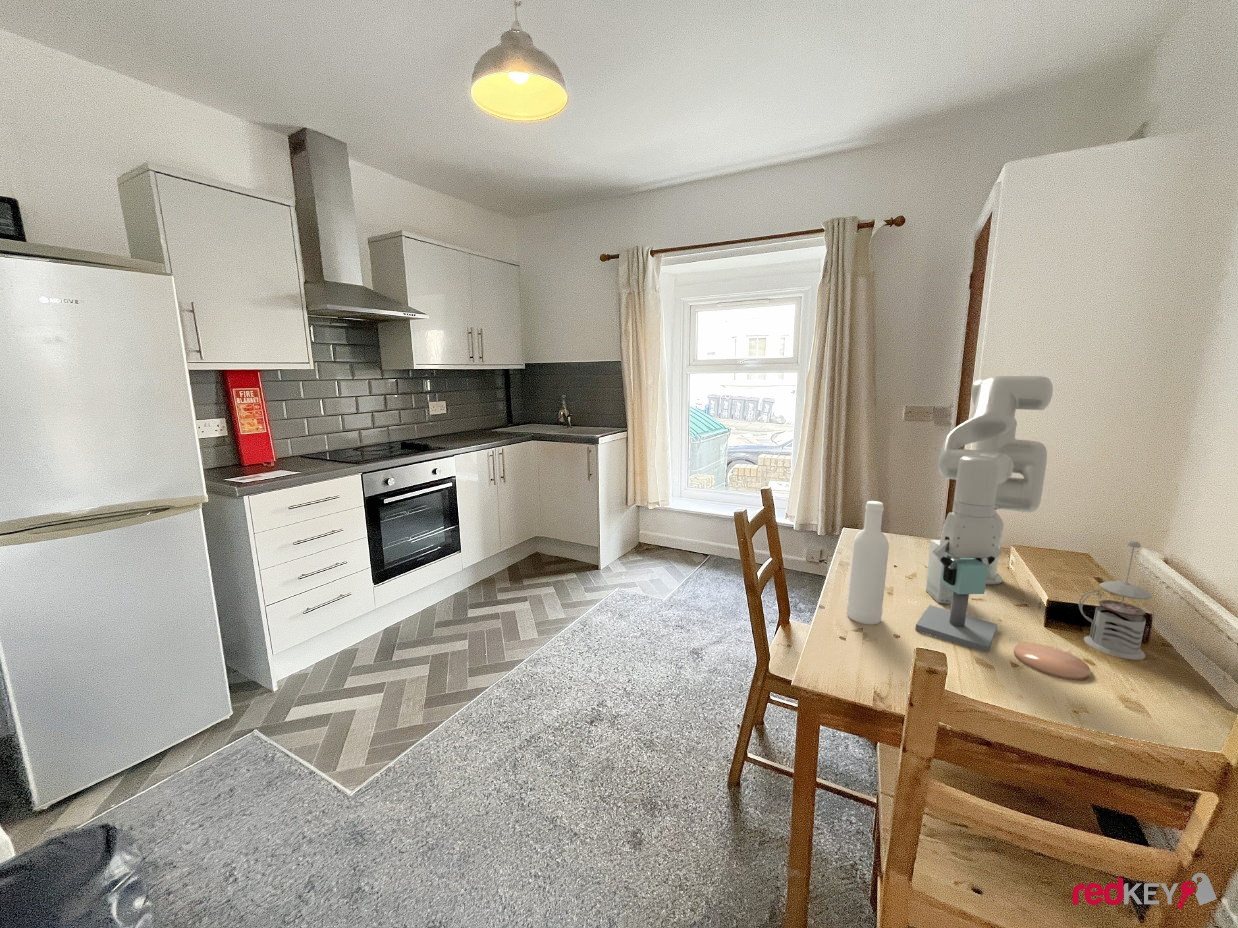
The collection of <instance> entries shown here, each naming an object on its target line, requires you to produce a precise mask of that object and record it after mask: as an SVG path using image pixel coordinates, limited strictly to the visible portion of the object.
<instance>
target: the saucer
mask: <svg viewBox="0 0 1238 928" xmlns="http://www.w3.org/2000/svg"><path fill="white" fill-rule="evenodd" d="M1013 655H1014V656H1015V658H1016V659H1017V660H1018V661H1020V662H1021V663H1022V664H1024V665H1025V666H1026V667H1028V668H1031V669H1033V670H1035V671H1036V672H1039V673H1042V674H1045V675H1048V676H1051V677H1054V678H1057V679H1063V680H1068V681H1084V680H1087V679H1088V678H1089V677H1090V675H1091V667H1090V666H1089V665H1088V664H1087V662H1085V661H1084V660H1082V659H1081V658H1079V657H1078V656H1075V655H1073V654H1071V653H1069V652H1067V651H1065V650H1062V649H1059V648H1057V647H1053V646H1049V645H1045V644H1041V643H1033V642H1022V643H1018V644H1016V645H1015V646H1014V649H1013Z"/></svg>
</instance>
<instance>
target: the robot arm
mask: <svg viewBox="0 0 1238 928" xmlns="http://www.w3.org/2000/svg"><path fill="white" fill-rule="evenodd" d="M970 389H971V390H970V391H971V393H970V395H971V400H972V403H973V406H974V407H973V411H972V415H971V418H970V419H967V420H965V421H964V422H963V423H962V422H961V423H960V424H959V425H957V426H956V427H955V428H954V429H952V430H951V431H950V432H949V433H948V434H947V436H946V437H945V439H944V441H943V444H942V448H941V451H940V453H939V458H938V462H937V468H938V469H937V470H938V472H939V474H940V476H942V477H943V478H946V479H949V480H956V481H955V482H956V483H955V487H954V488H955V489H954V497H953V502H952V503H953V504H952V512H950V511H949V512H948V514H947V516H946V519H945V521H944V523H943V527H942V530H941V534H940V539H939V540H940V545H939V546H938V547H937V548H936V549H935V550H933V554H934V555H935V556H936V557H937V558H938V559H939V560H940V561H941V562H942V564H943V565H944V573H943V580H944V581H945V582H947V583H948V584H950V585H955V579H956V571H957V570H956V569H954V568H955V566H956V564H957V562H958V561H959V559H960V558H975V559H977V560H979V561H981V562H983V563H985V564H986V565H988V572H987V579H986V585H989V586H992V585H999V584H1001V583H1002V582H1003V577H1002V575H1000V574H999V573H997V571H998V564H999V560H1000V559H999V558H1000V556H1001V555H1002V551H1001V545H1002V539H1003V532H1004V521H1003V519H1002V518H1001V516H1000V515H999V513H998V512H997V510H1000V509H1001V510H1004V511H1005V510H1006V511H1012V512H1021V513H1033V512H1035V511H1037V510H1038V508H1039V507H1040V504H1041V501H1042V495H1043V488H1044V483H1045V482H1044V481H1045V476H1046V470H1047V469H1046V468H1047V461H1048V450H1047V448H1046V445H1044V443H1042V442H1040V441H1036V440H1028V439H1017V438H1016V431H1017V427H1018V426H1017V425H1018V423H1017V419H1016V418H1015V415H1016V410H1025V411H1026V410H1031V411H1035V410H1036V411H1043V410H1046V408H1047V407H1048V406H1049V405H1050V403H1051V400H1052V399H1053V390H1054V387H1053V383H1052V380H1051V379H1050V378H1048V377H1046V376H1041V375H1024V376H1023V375H999V376H993V377H992V376H991V377H986V378H985V377H984V378H980V379H977V380H976V381H974V382H973V383H972V386H971V388H970ZM973 443H976V447H975V450H974V449H967V448H964V449H963V448H962V447H963V446H966V445H969V444H973ZM1013 473H1014V474H1019V475H1021V476H1022V477H1013V476H1012V474H1013ZM944 552H947V553H946V555H945V556H944V555H943V553H944ZM951 558H952V560H951ZM950 560H951V562H950Z"/></svg>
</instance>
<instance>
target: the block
mask: <svg viewBox="0 0 1238 928" xmlns="http://www.w3.org/2000/svg"><path fill="white" fill-rule="evenodd" d="M951 560H952V558H951ZM951 560H950V562H951ZM954 569H956V570H957V571H956V579H955V585H950V584H948V583H947V582H945V581H944V580H943V573H944V565H943V570H942V578H941V583H942V584H943V585H945V586H946V587H948V588H949V589H951V590H952V591H954V592H956V593H957V594H969V595H984V594H985V590H986V585H987V584H986V579H987V572H988V565H986V564H985V563H983V562H981V561H979V560H977V559H975V558H960V559H959V561H958V562H957V564H956V566H955V568H954Z"/></svg>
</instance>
